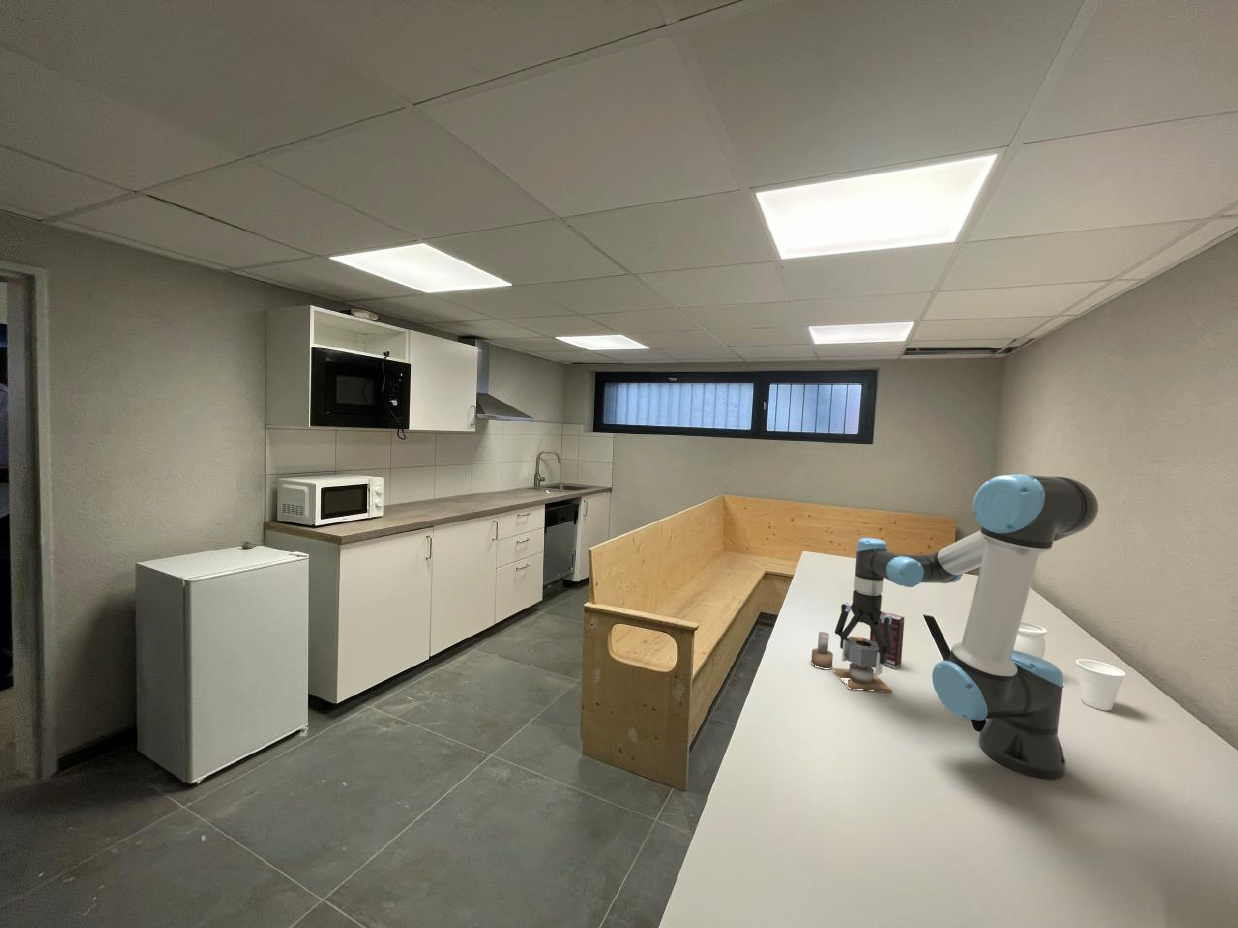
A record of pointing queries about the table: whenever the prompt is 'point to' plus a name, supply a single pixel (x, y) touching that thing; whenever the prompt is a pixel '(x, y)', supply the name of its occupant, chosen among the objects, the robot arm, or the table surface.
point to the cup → (1099, 683)
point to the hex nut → (861, 651)
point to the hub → (862, 678)
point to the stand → (822, 652)
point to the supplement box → (897, 631)
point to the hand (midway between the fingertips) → (861, 666)
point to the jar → (1030, 640)
